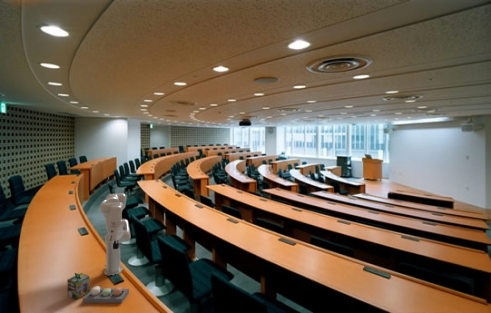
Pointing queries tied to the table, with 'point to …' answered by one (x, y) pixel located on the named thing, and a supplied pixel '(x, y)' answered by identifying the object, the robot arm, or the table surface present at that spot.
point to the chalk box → (78, 286)
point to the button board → (104, 299)
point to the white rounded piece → (95, 291)
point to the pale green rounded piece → (107, 292)
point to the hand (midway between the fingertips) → (115, 248)
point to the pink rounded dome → (117, 291)
